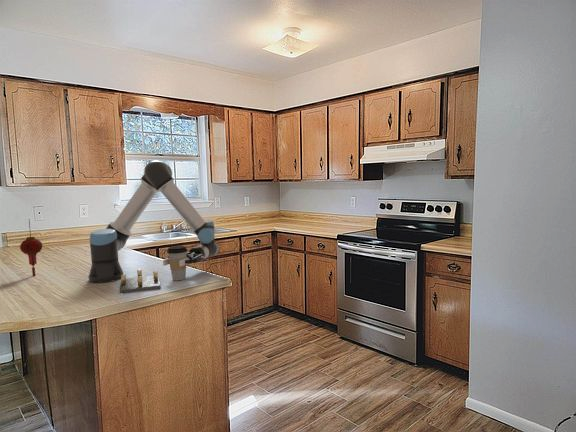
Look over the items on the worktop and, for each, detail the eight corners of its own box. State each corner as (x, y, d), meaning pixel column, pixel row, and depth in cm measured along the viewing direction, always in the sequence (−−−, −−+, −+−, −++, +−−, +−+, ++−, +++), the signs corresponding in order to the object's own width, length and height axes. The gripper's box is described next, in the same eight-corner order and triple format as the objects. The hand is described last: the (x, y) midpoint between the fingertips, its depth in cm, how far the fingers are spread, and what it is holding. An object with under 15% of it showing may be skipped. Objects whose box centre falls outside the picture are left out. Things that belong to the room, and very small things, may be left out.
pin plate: (121, 282, 175) (120, 270, 175) (157, 278, 181) (157, 266, 181) (119, 293, 157) (119, 280, 156) (160, 288, 163) (159, 276, 162)
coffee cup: (189, 280, 175) (187, 248, 174) (168, 282, 172) (166, 249, 171) (188, 275, 184) (186, 244, 183) (168, 277, 181) (166, 246, 180)
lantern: (19, 278, 188) (13, 218, 185) (28, 274, 197) (22, 216, 194) (40, 277, 189) (34, 217, 187) (48, 273, 199) (43, 216, 196)
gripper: (216, 261, 191) (192, 272, 170) (181, 260, 198) (153, 270, 176) (216, 247, 191) (191, 255, 169) (180, 245, 197) (152, 254, 176)
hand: (171, 263), depth 173 cm, fingers closed on coffee cup, 8 cm apart
